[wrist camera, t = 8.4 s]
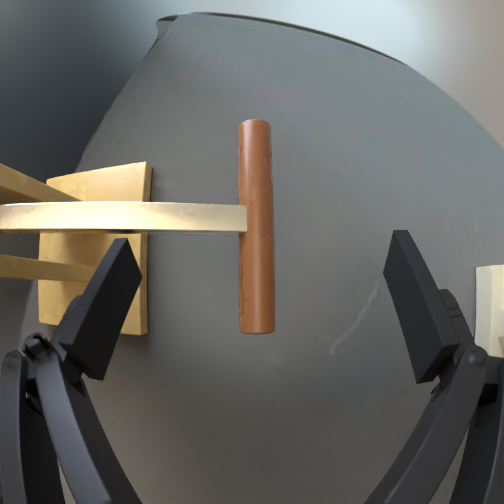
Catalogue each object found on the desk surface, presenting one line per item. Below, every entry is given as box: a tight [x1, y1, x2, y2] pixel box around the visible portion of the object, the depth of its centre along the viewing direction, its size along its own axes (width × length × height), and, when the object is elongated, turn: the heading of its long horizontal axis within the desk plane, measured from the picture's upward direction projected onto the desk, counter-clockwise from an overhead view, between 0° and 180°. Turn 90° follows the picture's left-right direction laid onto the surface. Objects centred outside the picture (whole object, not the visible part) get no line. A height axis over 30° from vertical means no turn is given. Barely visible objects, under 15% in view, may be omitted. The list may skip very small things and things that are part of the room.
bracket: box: [0, 162, 152, 335], centre depth 14 cm, size 10×12×14 cm
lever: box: [0, 119, 275, 334], centre depth 11 cm, size 16×9×2 cm, turn 91°
